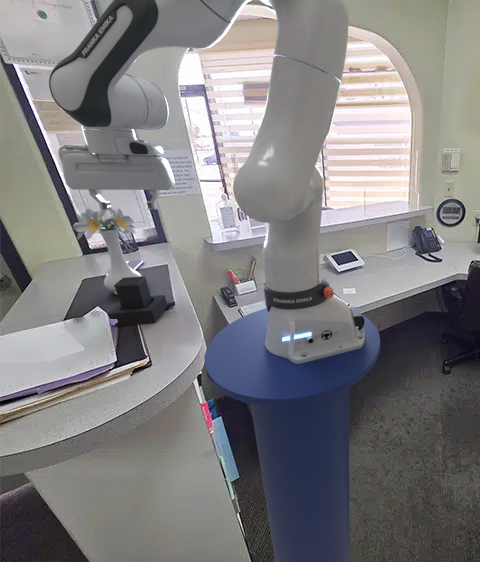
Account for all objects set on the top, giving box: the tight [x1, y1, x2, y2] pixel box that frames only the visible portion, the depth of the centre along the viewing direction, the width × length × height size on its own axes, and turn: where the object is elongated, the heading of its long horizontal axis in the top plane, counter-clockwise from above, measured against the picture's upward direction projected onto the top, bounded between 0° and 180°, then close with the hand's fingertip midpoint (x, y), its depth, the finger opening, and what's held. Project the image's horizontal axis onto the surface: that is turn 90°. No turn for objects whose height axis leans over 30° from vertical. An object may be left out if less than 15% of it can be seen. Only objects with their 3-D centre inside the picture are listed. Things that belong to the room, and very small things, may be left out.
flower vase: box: [72, 208, 143, 296], centre depth 90 cm, size 13×18×25 cm
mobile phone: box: [104, 259, 144, 277], centre depth 111 cm, size 8×1×15 cm
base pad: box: [106, 294, 168, 327], centre depth 80 cm, size 9×9×4 cm
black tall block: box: [114, 275, 152, 310], centre depth 79 cm, size 5×5×10 cm
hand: (130, 209), depth 73 cm, fingers open, 8 cm apart
